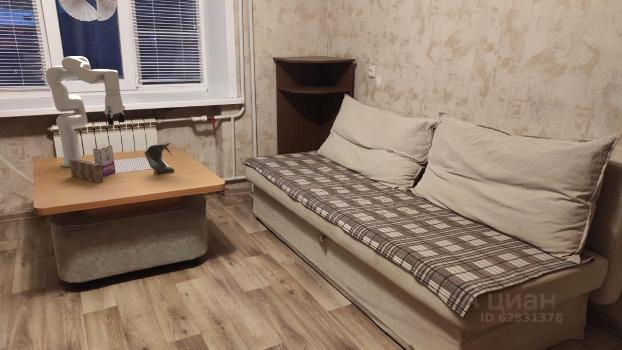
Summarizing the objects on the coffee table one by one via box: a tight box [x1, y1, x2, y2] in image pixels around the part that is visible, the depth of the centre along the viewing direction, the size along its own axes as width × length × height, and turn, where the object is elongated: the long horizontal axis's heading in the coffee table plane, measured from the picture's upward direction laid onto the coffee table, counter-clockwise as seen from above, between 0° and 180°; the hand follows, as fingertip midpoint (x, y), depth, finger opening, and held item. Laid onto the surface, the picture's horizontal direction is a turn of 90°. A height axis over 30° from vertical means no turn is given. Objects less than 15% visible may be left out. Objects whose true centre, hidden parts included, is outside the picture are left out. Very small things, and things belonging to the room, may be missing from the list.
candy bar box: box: [92, 144, 116, 178], centre depth 256 cm, size 11×5×16 cm, turn 168°
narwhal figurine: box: [144, 142, 175, 175], centre depth 260 cm, size 14×15×18 cm
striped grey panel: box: [69, 159, 104, 184], centre depth 247 cm, size 24×3×10 cm, turn 60°
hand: (116, 123), depth 250 cm, fingers open, 9 cm apart
